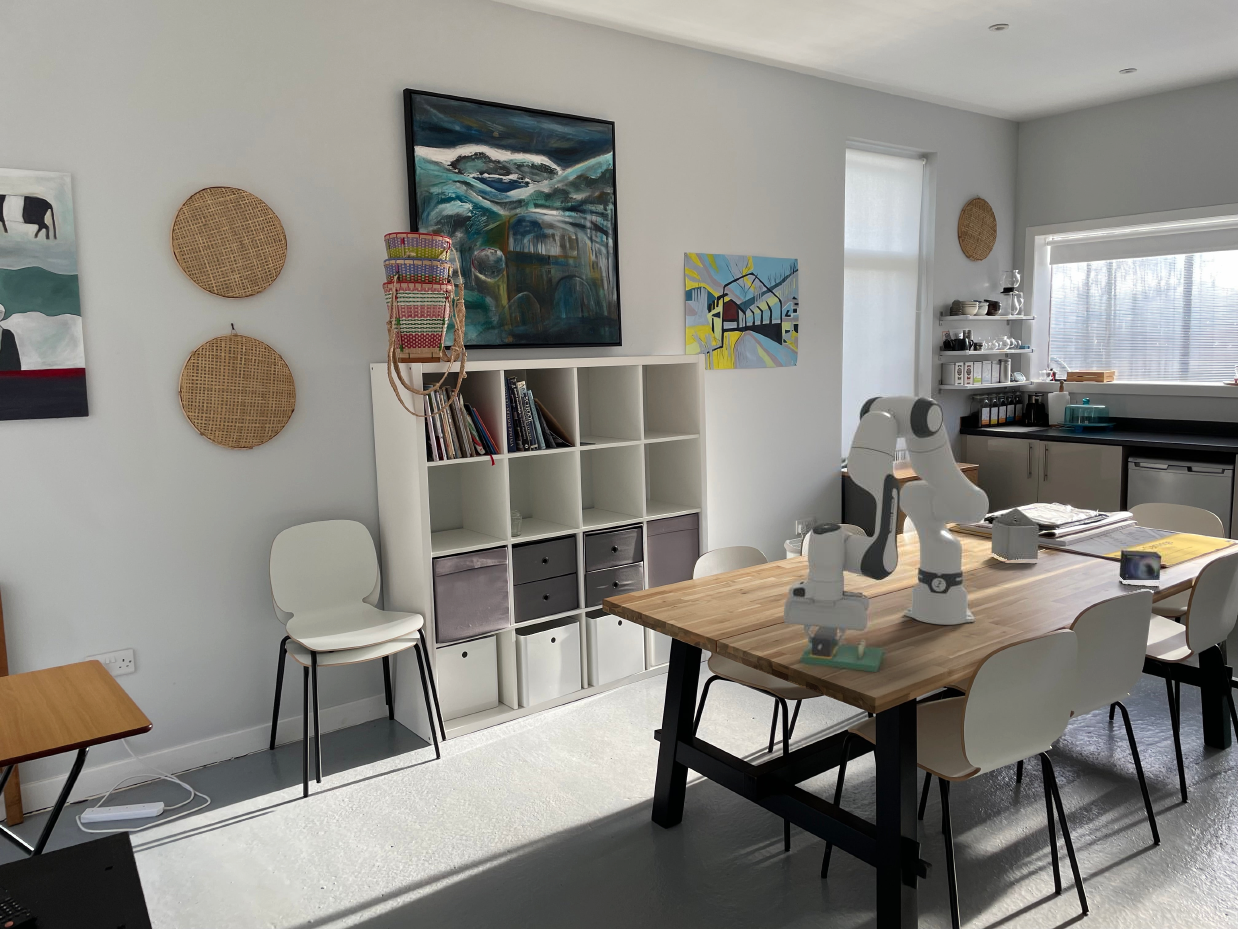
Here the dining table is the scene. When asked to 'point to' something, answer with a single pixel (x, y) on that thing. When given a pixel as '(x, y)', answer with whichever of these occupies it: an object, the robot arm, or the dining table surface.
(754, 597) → the dining table surface
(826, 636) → the block
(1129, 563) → the small box
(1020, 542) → the planter
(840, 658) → the board
